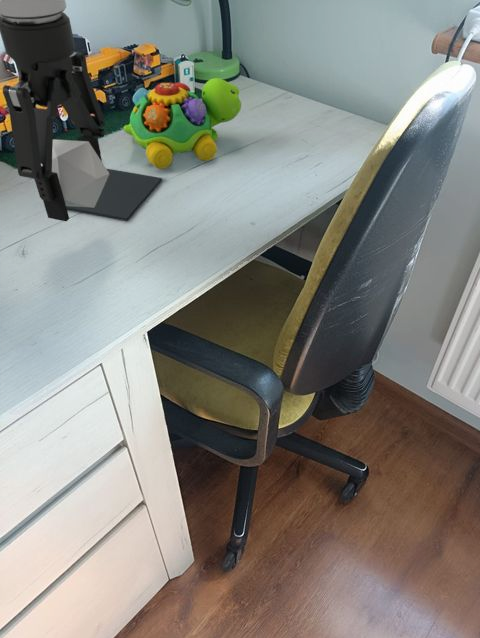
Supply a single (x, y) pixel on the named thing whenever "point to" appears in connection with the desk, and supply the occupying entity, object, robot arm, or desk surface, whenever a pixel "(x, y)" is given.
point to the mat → (121, 195)
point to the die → (78, 172)
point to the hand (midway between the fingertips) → (78, 199)
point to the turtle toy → (181, 119)
